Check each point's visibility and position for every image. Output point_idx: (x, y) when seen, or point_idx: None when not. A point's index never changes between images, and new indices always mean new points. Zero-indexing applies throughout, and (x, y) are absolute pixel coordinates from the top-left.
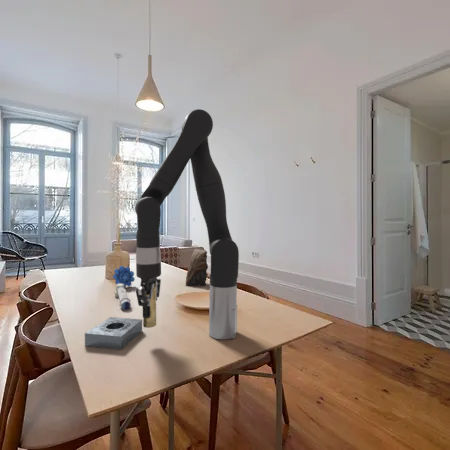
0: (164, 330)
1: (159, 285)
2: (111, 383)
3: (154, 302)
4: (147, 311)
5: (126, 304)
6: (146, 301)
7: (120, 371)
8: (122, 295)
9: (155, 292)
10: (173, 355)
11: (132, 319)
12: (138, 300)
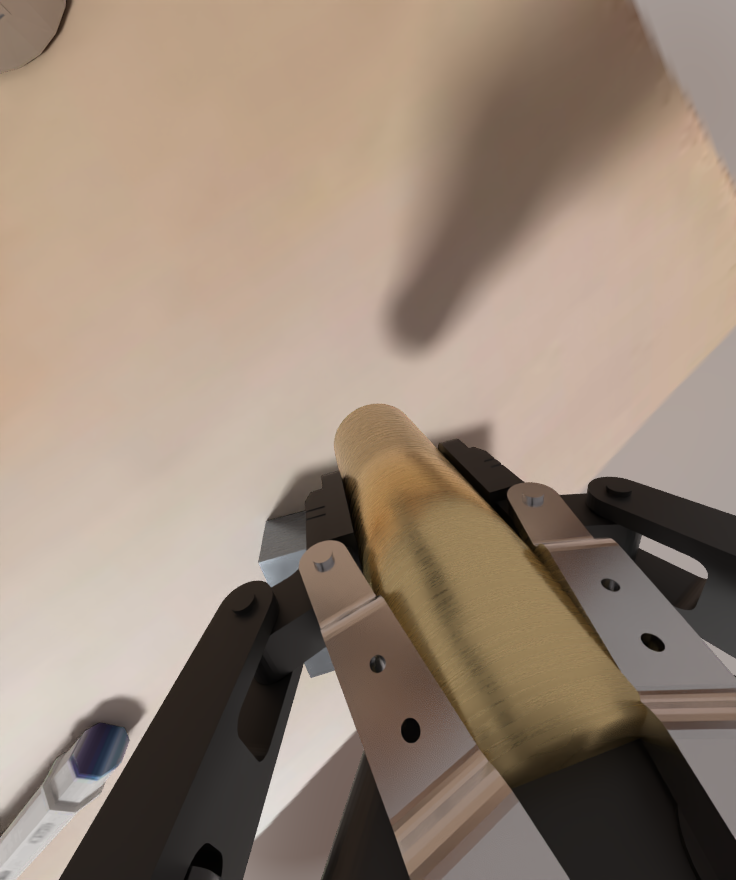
0: (195, 433)
1: (129, 845)
2: (651, 336)
3: (449, 495)
4: (501, 468)
5: (96, 757)
6: (664, 509)
7: (585, 361)
8: (41, 841)
9: (486, 612)
10: (428, 208)
11: None
12: (695, 582)
